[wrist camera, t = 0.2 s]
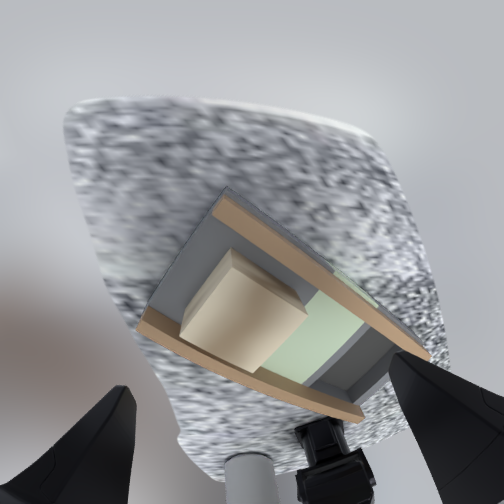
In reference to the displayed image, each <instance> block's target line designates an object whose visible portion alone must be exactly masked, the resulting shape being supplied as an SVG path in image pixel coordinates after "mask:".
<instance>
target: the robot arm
mask: <svg viewBox="0 0 504 504" xmlns="http://www.w3.org/2000/svg"><path fill="white" fill-rule="evenodd" d="M388 373H389V377H390V379H391V382H392V385H393V388H394V390H395V393H396V396H397V399H398V401H399V404H400V407H401V409H402V411H403V413H404V415H405V417H406V420H407V422H408V424H409V426H410V428H411V430H412V432H413V434H414V436H415V439H416V441H417V443H418V445H419V447H420V449H421V452H422V454H423V456H424V459H425V461H426V463H427V466H428V468H429V470H430V473H431V475H432V477H433V480H434V482H435V485H436V487H437V490H438V492H439V495H440V498H441V500H442V503H443V504H504V397H502V396H499V395H497V394H495V393H493V392H490V391H488V390H486V389H484V388H482V387H479V386H477V385H475V384H473V383H471V382H469V381H467V380H465V379H463V378H461V377H459V376H456V375H454V374H452V373H450V372H448V371H446V370H444V369H442V368H440V367H438V366H436V365H434V364H432V363H430V362H428V361H426V360H424V359H422V358H420V357H418V356H416V355H414V354H412V353H410V352H408V351H406V350H401V351H398V352H395V353H394V354H393V356H392V359H391V362H390V366H389V369H388ZM136 410H137V405H136V401H135V399H134V397H133V395H132V393H131V391H130V389H129V388H128V387H127V386H122V385H116V386H115V387H113V389H111V390H110V391H109V392H108V393H107V394H106V395H105V396H104V397H103V398H102V399H101V400H100V401H99V402H98V403H97V404H96V405H95V406H94V407H93V408H92V409H91V410H89V411H88V412H87V413H86V414H85V415H84V416H83V417H82V418H81V419H80V420H79V421H78V422H77V423H76V424H75V425H74V426H73V427H72V428H71V429H70V430H69V431H68V432H67V433H65V435H63V436H62V438H60V439H59V440H58V441H57V442H56V443H55V444H54V446H53V447H51V448H50V449H49V450H48V451H47V452H46V453H44V454H43V455H42V456H41V457H40V458H39V459H38V460H37V461H35V462H34V463H33V464H32V465H30V466H29V467H28V468H26V469H25V470H24V471H22V472H21V473H20V474H18V475H17V476H16V477H14V478H13V479H12V480H10V481H9V482H7V483H5V484H2V485H0V504H128V494H129V485H130V484H129V483H130V476H131V468H132V461H133V454H134V446H135V428H136ZM295 433H296V436H297V438H298V440H299V442H300V444H301V446H302V448H303V449H304V450H305V454H306V458H307V461H308V465H309V467H308V468H305V469H302V470H301V469H299V470H297V475H295V476H296V481H297V495H298V496H297V498H298V501H299V502H302V503H303V504H374V501H375V500H374V491H373V488H372V487H373V486H375V485H376V481H375V478H374V475H373V472H372V470H371V468H370V466H369V464H368V461H367V459H366V457H365V455H364V453H363V451H362V449H361V448H358V449H357V450H355V451H353V452H350V450H349V447H348V445H347V442H346V440H345V437H344V429H343V422H342V420H341V419H337V418H334V417H328V418H325V419H323V420H320V421H317V422H314V423H311V424H308V425H305V426H301V427H298V428H296V429H295Z"/></svg>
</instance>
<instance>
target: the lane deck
mask: <svg viewBox="0 0 504 504" xmlns="http://www.w3.org/2000/svg"><path fill="white" fill-rule="evenodd" d="M230 248H233V249H234V250H236V251H237V252H239V253H240V254H242V255H243V256H245V257H246V258H248V259H249V260H251V261H252V262H253V263H255V264H256V265H258V266H259V267H261V268H262V269H264V270H265V271H267V272H268V273H270V274H271V275H273V276H274V277H276V278H277V279H279V280H280V281H282V282H283V283H285V284H286V285H288V286H289V287H291V288H292V289H294V290H295V291H296V292H297V294H298V296H299V298H300V300H301V302H302V303H303V305H304V307H305V309H306V311H307V313H308V315H309V316H308V317H307V318H306V319H305V320H304V321H303V322H302V324H301V325H300V326H299V327H298V328H297V329H296V330H295V331H294V332H293V333H292V334H291V335H290V336H289V337H288V338H287V339H286V340H285V342H284V343H283V344H282V345H281V346H280V347H279V348H278V349H277V350H276V351H275V352H274V353H273V354H272V355H271V356H270V357H269V358H268V359H267V360H266V361H265V362H264V363H263V364H262V365H261V366H260V367H259V368H258V369H257V370H256V371H255V372H253V373H251V372H249V371H246V370H244V369H242V368H240V367H238V366H236V365H234V364H231V363H229V362H227V361H225V360H223V359H221V358H219V357H217V356H215V355H213V354H211V353H209V352H207V351H205V350H203V349H201V348H200V347H198V346H196V345H194V344H192V343H190V342H188V341H186V340H185V339H183V338H181V337H179V334H180V330H181V325H182V321H183V316H184V312H185V308H186V307H187V306H188V304H189V303H190V302H191V300H192V299H193V297H194V296H195V295H196V293H197V292H198V291H199V289H200V288H201V287H202V285H203V284H204V282H205V281H206V280H207V278H208V277H209V276H210V274H211V273H212V272H213V270H214V269H215V268H216V266H217V265H218V264H219V262H220V261H221V260H222V258H223V257H224V256H225V254H226V253H227V252H228V250H229V249H230ZM136 331H137V332H139V333H141V334H142V335H144V336H146V337H148V338H149V339H151V340H153V341H154V342H156V343H158V344H160V345H162V346H163V347H165V348H167V349H169V350H171V351H173V352H174V353H176V354H178V355H180V356H182V357H184V358H186V359H188V360H190V361H192V362H194V363H196V364H198V365H200V366H202V367H204V368H206V369H208V370H210V371H212V372H214V373H217V374H219V375H221V376H223V377H225V378H228V379H230V380H232V381H234V382H237V383H239V384H241V385H244V386H246V387H248V388H251V389H253V390H256V391H258V392H261V393H263V394H266V395H268V396H271V397H274V398H276V399H279V400H282V401H284V402H287V403H290V404H293V405H296V406H299V407H302V408H305V409H308V410H311V411H314V412H317V413H320V414H324V415H327V416H330V417H334V418H337V419H341V420H345V421H348V422H352V423H356V424H358V423H360V422H361V421H362V420H363V419H365V416H364V414H363V412H362V410H361V408H360V405H362V404H363V403H364V402H365V401H366V400H367V399H369V398H370V397H371V396H372V395H373V394H374V393H375V392H377V391H378V390H379V389H380V388H381V387H382V386H383V385H384V384H385V383H386V382H388V381H389V380H390V377H389V373H388V369H389V366H390V362H391V359H392V356H393V354H394V353H395V352H398V351H401V350H406V351H408V352H410V353H412V354H414V355H416V356H418V357H420V358H422V359H424V360H426V361H428V360H429V359H430V358H431V355H430V354H429V352H428V351H427V350H426V349H425V348H424V347H423V345H424V343H423V342H422V341H421V339H420V338H419V337H418V336H417V335H416V334H415V333H414V332H413V331H412V330H411V329H410V328H408V327H407V326H406V325H405V324H404V323H403V322H401V321H400V320H399V319H398V318H397V317H395V316H394V315H393V314H392V313H391V312H390V311H388V310H387V309H386V308H385V307H384V306H382V305H381V304H380V303H379V302H377V301H376V300H375V299H374V298H373V297H371V296H370V295H369V294H368V293H366V292H365V291H364V290H363V289H362V288H360V287H359V286H358V285H357V284H355V283H354V282H353V281H352V280H350V279H349V278H348V277H347V276H345V275H344V274H343V273H342V272H340V271H339V270H338V269H337V268H335V267H334V266H333V265H331V264H330V263H329V262H328V261H326V260H325V259H324V258H323V257H321V256H320V255H319V254H317V253H316V252H315V251H314V250H312V249H311V248H310V247H308V246H307V245H306V244H304V243H303V242H302V241H300V240H299V239H298V238H297V237H295V236H294V235H293V234H291V233H290V232H289V231H287V230H286V229H285V228H283V227H282V226H281V225H279V224H278V223H277V222H275V221H274V220H273V219H271V218H270V217H268V216H267V215H266V214H264V213H263V212H262V211H260V210H259V209H258V208H256V207H255V206H253V205H252V204H251V203H249V202H248V201H247V200H245V199H244V198H242V197H241V196H240V195H238V194H237V193H235V192H234V191H233V190H231V189H230V188H228V187H227V186H226V188H225V189H224V190H223V192H222V193H221V194H220V196H219V197H218V199H217V200H216V201H215V203H214V204H213V205H212V207H211V208H210V210H209V211H208V212H207V214H206V215H205V217H204V218H203V219H202V221H201V222H200V224H199V225H198V227H197V228H196V230H195V231H194V232H193V234H192V235H191V237H190V238H189V240H188V241H187V243H186V244H185V246H184V247H183V249H182V250H181V252H180V253H179V254H178V256H177V257H176V259H175V261H174V262H173V264H172V265H171V267H170V268H169V270H168V271H167V273H166V274H165V276H164V277H163V279H162V280H161V282H160V284H159V285H158V287H157V288H156V290H155V291H154V293H153V295H152V296H151V298H150V299H149V301H148V303H147V305H146V307H145V309H144V311H143V313H142V316H141V318H140V321H139V323H138V325H137V328H136Z"/></svg>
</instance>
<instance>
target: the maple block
mask: <svg viewBox="0 0 504 504" xmlns="http://www.w3.org/2000/svg"><path fill="white" fill-rule="evenodd" d="M308 316H309V315H308V313H307V311H306V309H305V307H304V305H303V303H302V302H301V300H300V298H299V296H298V294H297V292H296V291H295V290H294V289H292V288H291V287H289V286H288V285H286V284H285V283H283V282H282V281H280V280H279V279H277V278H276V277H274V276H273V275H271V274H270V273H268V272H267V271H265V270H264V269H262V268H261V267H259V266H258V265H256V264H255V263H253V262H252V261H251V260H249V259H248V258H246V257H245V256H243V255H242V254H240V253H239V252H237V251H236V250H234V249H233V248H230V249H229V250H228V252H227V253H226V254H225V256H224V257H223V258H222V260H221V261H220V262H219V264H218V265H217V266H216V268H215V269H214V270H213V272H212V273H211V274H210V276H209V277H208V278H207V280H206V281H205V282H204V284H203V285H202V287H201V288H200V289H199V291H198V292H197V293H196V295H195V296H194V297H193V299H192V300H191V302H190V303H189V304H188V306H187V307H186V308H185V312H184V316H183V321H182V325H181V330H180V334H179V337H181V338H183V339H185V340H186V341H188V342H190V343H192V344H194V345H196V346H198V347H200V348H201V349H203V350H205V351H207V352H209V353H211V354H213V355H215V356H217V357H219V358H221V359H223V360H225V361H227V362H229V363H231V364H234V365H236V366H238V367H240V368H242V369H244V370H246V371H249V372H251V373H253V372H255V371H256V370H257V369H258V368H259V367H260V366H261V365H262V364H263V363H264V362H265V361H266V360H267V359H268V358H269V357H270V356H271V355H272V354H273V353H274V352H275V351H276V350H277V349H278V348H279V347H280V346H281V345H282V344H283V343H284V342H285V340H286V339H287V338H288V337H289V336H290V335H291V334H292V333H293V332H294V331H295V330H296V329H297V328H298V327H299V326H300V325H301V324H302V322H303V321H304V320H305V319H306V318H307V317H308Z"/></svg>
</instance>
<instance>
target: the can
mask: <svg viewBox="0 0 504 504" xmlns="http://www.w3.org/2000/svg"><path fill="white" fill-rule="evenodd" d="M225 484H226V485H225V486H226V501H227V504H280V499H279V494H278V488H277V482H276V477H275V471H274V466H273V462H272V460H271V459H269V458H267V457H265V456H264V455H261V454H254V453H250V454H241V455H237V456H235V457H233V458H231V459H230V460H229V461H227V462H226V463H225Z"/></svg>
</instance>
